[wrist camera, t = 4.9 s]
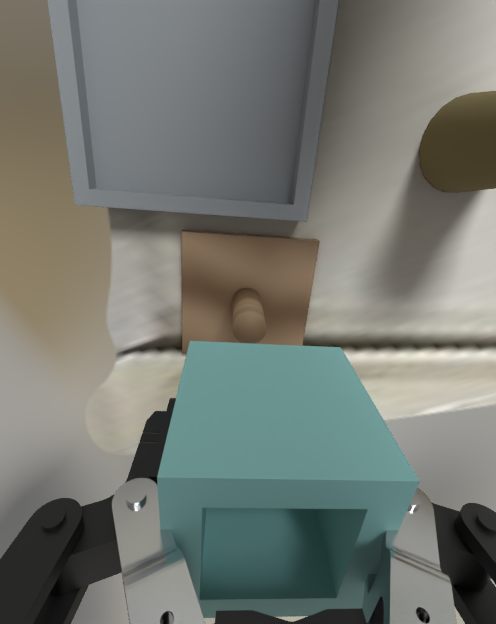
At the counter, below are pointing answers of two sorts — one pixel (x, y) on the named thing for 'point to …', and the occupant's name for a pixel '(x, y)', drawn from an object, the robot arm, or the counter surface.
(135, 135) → the tray
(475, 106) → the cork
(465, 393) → the counter surface
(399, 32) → the counter surface
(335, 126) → the counter surface
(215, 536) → the open box
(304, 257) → the square board with knob
